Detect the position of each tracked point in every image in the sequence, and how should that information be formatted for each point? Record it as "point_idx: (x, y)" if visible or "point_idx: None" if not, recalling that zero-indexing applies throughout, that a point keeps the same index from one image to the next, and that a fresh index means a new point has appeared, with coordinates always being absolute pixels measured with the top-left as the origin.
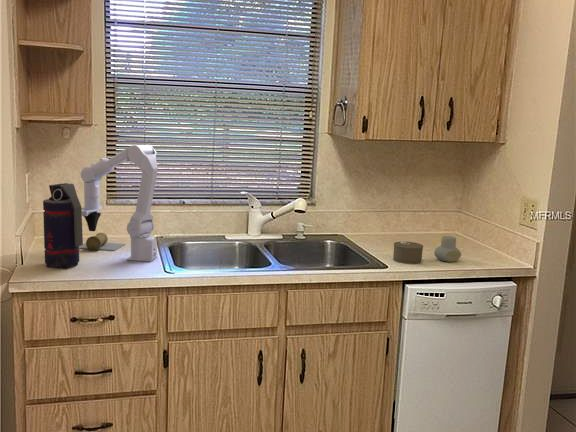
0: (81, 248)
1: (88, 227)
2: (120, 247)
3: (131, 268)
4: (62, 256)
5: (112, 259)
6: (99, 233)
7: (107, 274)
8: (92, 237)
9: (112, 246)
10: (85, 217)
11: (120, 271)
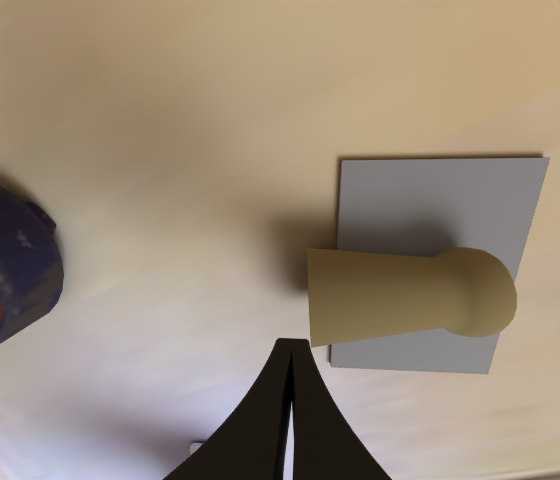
0: (339, 193)
1: (268, 359)
2: (412, 367)
3: (102, 470)
4: None
5: (184, 394)
6: (477, 306)
7: (3, 429)
8: (309, 313)
9: (410, 337)
10: (184, 476)
11: (54, 452)
